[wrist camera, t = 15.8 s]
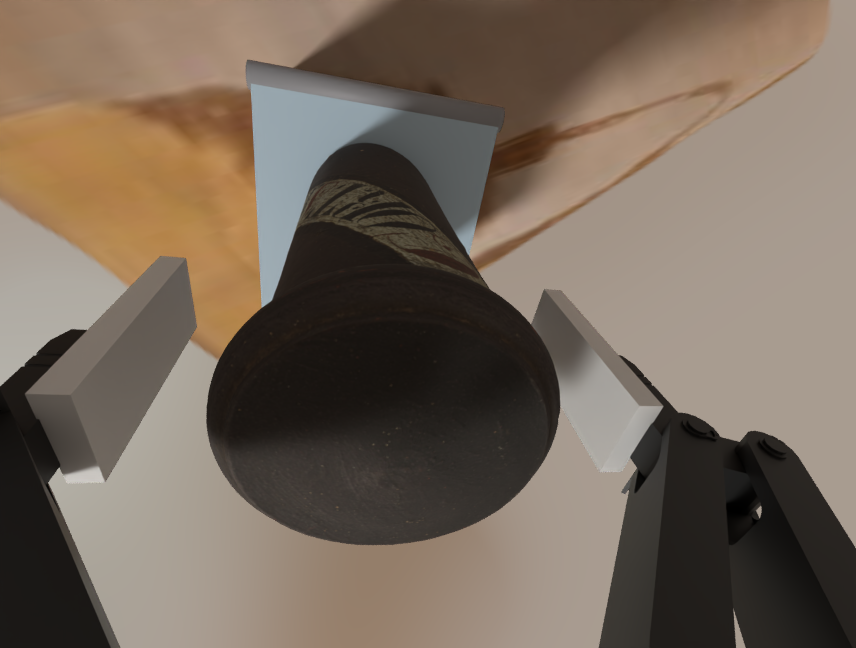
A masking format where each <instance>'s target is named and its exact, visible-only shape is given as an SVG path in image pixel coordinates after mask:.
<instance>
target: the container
mask: <svg viewBox="0 0 856 648" xmlns="http://www.w3.org/2000/svg"><path fill="white" fill-rule="evenodd" d="M559 413H560V388H559V382H558V378H557V374H556V370H555V366H554V363H553V360H552V358H551V356H550V353H549V351H548V349H547V347H546V346H545V344H544V342H543V340H542V339H541V337H540V336H539V334H538V333H537V332H536V330H535V329H534V328H533V326H532V325H531V324H530V323H529V322H528V321H527V319H526V318H525V317H524V316H522V314H521V313H520V312H519V311H518V310H516V309H515V308H514V307H513V306H512V305H511V304H510V303H508V302H507V301H506V300H504V299H503V298H502V297H500V296H499V295H497V294H496V293H494V292H493V291H491V290H490V289H489V287H488V286H487V284H486V283H485V281H484V280H483V278H482V277H481V275H480V273H479V272H478V270H477V269H476V267H475V265H474V264H473V262H472V260H471V259H470V257H469V255H468V253H467V252H466V249H465V247H464V246H463V244H462V243H461V241H460V240H459V238H458V237H457V235H456V233H455V231H454V230H453V228H452V226H451V225H450V223H449V221H448V220H447V218H446V216H445V214H444V212H443V211H442V209H441V207H440V205H439V204H438V202H437V200H436V198H435V196H434V194H433V192H432V191H431V189H430V187H429V185H428V183H427V182H426V180H425V179H424V177H423V176H422V174H421V173H420V172H419V170H418V169H417V168H416V167H415V166H414V165H413V164H412V163H411V162H410V161H409V160H408V159H407V158H406V157H404V156H403V155H401V154H400V153H398V152H396V151H395V150H393V149H391V148H388V147H385V146H382V145H379V144H373V143H356V144H351V145H348V146H345V147H343V148H341V149H339V150H337V151H336V152H334V153H333V154H332V155H330V156H329V157H328V158H327V160H326V161H325V162H324V163H323V164H322V165H321V166H320V168H319V169H318V171H317V173H316V174H315V176H314V178H313V180H312V183H311V185H310V188H309V191H308V194H307V196H306V200H305V203H304V206H303V209H302V212H301V215H300V218H299V221H298V224H297V227H296V230H295V233H294V235H293V239H292V242H291V245H290V248H289V251H288V254H287V257H286V261H285V264H284V267H283V270H282V273H281V276H280V279H279V282H278V285H277V288H276V290H275V293H274V296H273V299H272V301H270V302H269V303H268V304H266V305H265V306H264V307H262V308H261V309H260V310H259V311H258V312H257V313H255V314H254V315H253V316H252V317H251V318H250V319H249V320H248V321H247V322H246V323H245V324H244V325H243V326H242V327H241V328H240V330H239V331H238V332H237V333H236V334H235V336H234V337H233V338H232V340H231V341H230V342H229V344H228V345H227V347H226V348H225V350H224V352H223V354H222V356H221V357H220V359H219V361H218V363H217V366H216V368H215V371H214V374H213V377H212V381H211V385H210V389H209V394H208V403H207V431H208V436H209V442H210V446H211V449H212V451H213V454H214V456H215V459H216V461H217V463H218V465H219V467H220V469H221V471H222V472H223V474H224V475H225V477H226V478H227V480H228V481H229V483H230V484H231V485H232V487H233V488H234V489H235V490H236V491H237V492H238V493H239V494H240V495H241V496H242V497H243V498H244V499H245V500H246V501H247V502H248V503H249V504H251V505H252V506H253V507H254V508H256V509H257V510H259V511H260V512H262V513H263V514H265V515H266V516H268V517H270V518H272V519H274V520H275V521H277V522H279V523H280V524H282V525H284V526H286V527H288V528H290V529H293V530H295V531H298V532H300V533H303V534H305V535H308V536H313V537H316V538H320V539H324V540H328V541H333V542H340V543H346V544H355V545H394V544H402V543H411V542H417V541H423V540H428V539H432V538H436V537H439V536H442V535H445V534H449V533H452V532H455V531H458V530H461V529H463V528H466V527H468V526H470V525H473V524H474V523H477V522H479V521H481V520H482V519H485V518H486V517H488V516H490V515H491V514H493V513H495V512H496V511H498V510H499V509H501V508H502V507H503V506H504V505H506V504H507V503H508V502H509V501H511V500H512V499H513V498H514V497H515V496H516V495H517V494H518V493H519V492H520V491H521V490H522V489H523V488H524V487H525V485H526V484H527V483H528V482H529V481H530V479H531V478H532V476H533V475H534V474H535V473H536V471H537V470H538V469H539V467H540V466H541V464H542V463H543V461H544V459H545V457H546V456H547V454H548V452H549V450H550V448H551V445H552V442H553V440H554V437H555V434H556V430H557V425H558V418H559Z"/></svg>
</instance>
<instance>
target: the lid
mask: <svg viewBox="0 0 856 648" xmlns="http://www.w3.org/2000/svg"><path fill="white" fill-rule="evenodd" d="M246 81H247V86H248V89H249V90H251V98H252V118H253V138H254V159H255V179H256V199H257V219H258V240H259V260H260V280H261V301H262V307H264V306H265V305H266V304H268V303H269V302H270V301H272V299H273V296H274V293H275V290H276V288H277V285H278V282H279V279H280V276H281V273H282V270H283V267H284V264H285V261H286V257H287V254H288V251H289V248H290V245H291V242H292V239H293V235H294V233H295V230H296V227H297V224H298V221H299V218H300V215H301V212H302V209H303V206H304V203H305V200H306V196H307V194H308V191H309V188H310V185H311V183H312V180H313V178H314V176H315V174H316V173H317V171H318V169H319V168H320V166H321V165H322V164H323V163H324V162H325V161H326V160H327V158H328V157H329V156H330V155H332V154H333V153H334V152H336V151H337V150H339V149H341V148H343V147H345V146H348V145H351V144H356V143H373V144H379V145H382V146H385V147H388V148H391V149H393V150H395V151H396V152H398V153H400V154H401V155H403V156H404V157H406V158H407V159H408V160H409V161H410V162H411V163H412V164H413V165H414V166H415V167H416V168H417V169H418V170H419V172H420V173H421V174H422V176H423V177H424V179H425V180H426V182H427V183H428V185H429V187H430V189H431V191H432V192H433V194H434V196H435V198H436V200H437V202H438V204H439V205H440V207H441V209H442V211H443V212H444V214H445V216H446V218H447V220H448V221H449V223H450V225H451V226H452V228H453V230H454V231H455V233H456V235H457V237H458V238H459V240H460V241H461V243H462V244H463V246H464V247H465V249H466V252H467V253H468V255H469V253H470V249H471V245H472V240H473V236H474V232H475V227H476V223H477V219H478V214H479V210H480V205H481V201H482V197H483V192H484V188H485V184H486V179H487V175H488V170H489V166H490V162H491V157H492V153H493V149H494V144H495V140H496V135H497V133H498V132H499V131H500V130H501V128H502V125H503V122H504V115H505V111H504V108H503V107H497V106H492V105H487V104H481V103H476V102H471V101H465V100H460V99H455V98H449V97H444V96H439V95H434V94H428V93H423V92H418V91H412V90H407V89H402V88H396V87H391V86H386V85H380V84H375V83H370V82H364V81H359V80H354V79H348V78H343V77H338V76H332V75H327V74H322V73H316V72H311V71H306V70H300V69H295V68H290V67H285V66H279V65H274V64H269V63H263V62H258V61H253V60H247V63H246Z"/></svg>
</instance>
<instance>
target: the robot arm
mask: <svg viewBox="0 0 856 648" xmlns="http://www.w3.org/2000/svg"><path fill="white" fill-rule="evenodd" d="M531 325H532V326H533V328H534V329H535V330H536V332H537V333H538V334H539V336H540V337H541V339H542V340H543V342H544V344H545V346H546V347H547V349H548V351H549V353H550V356H551V358H552V360H553V363H554V366H555V370H556V374H557V378H558V382H559V388H560V406H561V407H562V409H563V411H564V412H565V414H566V416H567V418H568V419H569V421H570V423H571V425H572V426H573V428H574V429H575V431H576V433H577V435H578V436H579V438H580V440H581V441H582V443H583V445H584V447H585V448H586V450H587V452H588V453H589V455H590V457H591V458H592V460H593V462H594V463H595V465H596V467H597V469H598V470H599V472H621V471H622V470H623V469H624V467H625V465H626V464H627V462H628V461H629V459H630V458H631V459H632V461H633V462H634V464H635V465H636V467H637V469H636V471H635V472H634V474H633V475H632V477H631V478H630V480H629V481H628V483H627V484H626V486H625V487H624V489H623V490H622V493H624V494H625V493H626V492H627V491H628V490H629V494H628V499H627V504H626V510H625V515H624V520H623V525H622V530H621V536H620V541H619V547H618V552H617V556H616V561H615V567H614V572H613V577H612V582H611V587H610V593H609V598H608V603H607V608H606V614H605V619H604V624H603V629H602V634H601V639H600V644H599V648H736V642H735V628H734V613H733V608H734V611H735V615H736V618H737V621H738V624H739V628H740V631H741V634H742V637H743V640H744V643H745V647H746V648H856V548H855V546H854V545H853V543H852V541H851V540H850V538H849V537H848V535H847V534H846V532H845V530H844V529H843V527H842V526H841V524H840V522H839V521H838V519H837V518H836V516H835V515H834V513H833V511H832V510H831V508H830V507H829V505H828V503H827V502H826V500H825V499H824V497H823V496H822V494H821V492H820V491H819V489H818V487H817V486H816V484H815V483H814V481H813V480H812V478H811V476H810V475H809V473H808V472H807V470H806V468H805V467H804V465H803V464H802V462H801V461H800V459H799V457H798V456H797V455H796V454H795V453H794V451H793V450H792V449H790V448H789V447H788V446H787V445H785V443H784V442H782V441H781V440H778V439H777V438H775V437H773V436H770V435H768V434H765V433H762V432H758V431H750V432H748V433H747V434H746V435H745V437H744V438H743V439H742V440H741V441H740V442H737V441H733V440H730V439H726V438H722V437H720V436H719V434H718V433H717V432H716V431H715V430H714V428H713V427H711V426H710V425H709V424H707V423H706V422H705V421H703V420H701V419H699V418H697V417H696V416H693V415H690V414H686V413H678V412H677V411H676V410H675V409H674V408H673V406H672V405H671V404H670V403H669V402H668V401H667V400H666V399H665V398H664V397H663V395H662V394H661V393H660V392H659V391H658V390H657V389H656V388H655V387H654V386H652V385H651V384H652V383H651V382H650V381H649V380H648V379H647V378H646V377H644V375H643V373H642V372H641V371H640V370H639V369H638V368H637V367H636V366H635V365H634V364H633V363H631V362H630V361H628V360H627V359H626V358H624V357H623V356H620V355H618V354H617V353H616V352H615V351H614V350H613V349H612V347H611V346H610V345H609V344H608V343H607V342H606V341H605V340H604V338H603V337H602V336H601V335H600V334H599V333H598V332H597V330H596V329H595V328H594V327H593V326H592V325H591V324H590V323H589V321H588V320H587V319H586V318H585V317H584V316H583V315H582V314H581V313H580V311H579V310H578V309H577V308H576V307H575V306H574V305H573V303H572V302H571V301H570V300H569V299H568V298H567V297H566V295H565V294H564V293H563V292H562V291H560V290H548V289H544V291H543V294H542V297H541V299H540V302H539V305H538V308H537V310H536V313H535V316H534V319H533V322H532V324H531ZM196 328H197V324H196V318H195V312H194V305H193V299H192V293H191V286H190V280H189V274H188V267H187V261H186V258H178V257H167V256H160V257H159V258H158V259H157V260H156V261H155V262H154V263H153V264H152V265H151V266H150V267H149V268H148V269H147V270H146V271H145V272H144V273H143V274H142V275H141V276H140V277H139V278H138V279H137V280H136V281H135V282H134V283H133V284H132V285H131V286H130V287H129V288H128V289H127V291H126V292H125V293H124V294H123V295H122V296H121V297H120V298H119V299H118V300H117V301H116V302H115V303H114V304H113V305H112V306H111V307H110V308H109V309H108V310H107V311H106V312H105V313H104V314H103V315H102V316H101V317H100V318H99V319H98V320H97V321H96V322H95V323H94V324H93V325H92V326H91V327H90V328H89V329H88V330H76V329H71V330H69V331H67V332H65V333H63V334H62V335H59V336H58V337H56V338H54V339H52V340H50V341H49V342H48V343H47V344H46V345H45V346H44V347H43V348H41V349H40V350H39V351H38V352H37V355H36V356H33V357H32V358H31V359H29V360H28V361H27V362H26V363H25V366H24V367H21V368H20V369H19V370H18V371H17V372H15V373H14V374H13V375H12V376H11V377H10V378H9V379H8V380H7V381H6V382H5V383H4V384H2V385H1V386H0V648H120V646H119V644H118V642H117V639H116V637H115V635H114V632H113V630H112V628H111V625H110V623H109V621H108V618H107V616H106V614H105V612H104V609H103V607H102V605H101V602H100V600H99V598H98V595H97V593H96V591H95V589H94V586H93V584H92V582H91V579H90V577H89V575H88V572H87V570H86V568H85V565H84V563H83V561H82V559H81V556H80V554H79V552H78V549H77V547H76V545H75V542H74V540H73V538H72V536H71V533H70V531H69V529H68V526H67V524H66V522H65V519H64V517H63V515H62V513H61V510H60V508H59V506H58V503H57V501H56V499H55V496H54V495H53V492H52V490H51V488H50V486H49V484H48V482H49V480H50V479H51V478H52V476H53V475H54V474H55V472H56V471H57V469H58V468H59V467H60V469H61V472H62V474H63V476H64V478H65V480H66V482H67V483H98V482H99V483H100V482H101V483H104V482H106V480H107V478H108V477H109V475H110V473H111V472H112V470H113V468H114V467H115V465H116V463H117V461H118V460H119V458H120V456H121V455H122V453H123V451H124V450H125V448H126V446H127V445H128V443H129V441H130V439H131V438H132V436H133V434H134V433H135V431H136V429H137V428H138V426H139V424H140V423H141V421H142V419H143V417H144V416H145V414H146V412H147V410H148V409H149V407H150V405H151V404H152V402H153V400H154V399H155V397H156V395H157V394H158V392H159V390H160V389H161V387H162V385H163V383H164V382H165V380H166V378H167V377H168V375H169V373H170V372H171V370H172V368H173V367H174V365H175V363H176V361H177V360H178V358H179V356H180V355H181V353H182V351H183V350H184V348H185V346H186V344H187V343H188V341H189V339H190V338H191V336H192V334H193V333H194V331H195V329H196ZM760 506H761V507H762V513H761V517H760V518H759V516H758V514H757V512H756V510H757V509H758V508H759V507H760Z"/></svg>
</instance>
